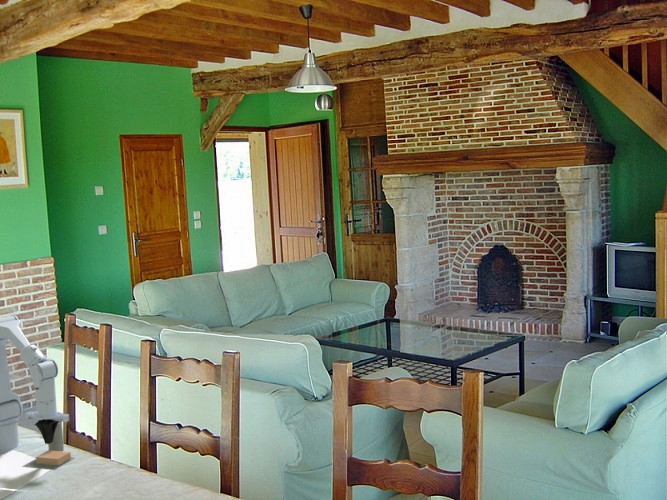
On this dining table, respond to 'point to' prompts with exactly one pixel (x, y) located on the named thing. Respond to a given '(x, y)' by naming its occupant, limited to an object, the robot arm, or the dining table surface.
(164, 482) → the dining table surface
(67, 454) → the tile
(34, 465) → the mat
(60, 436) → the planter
